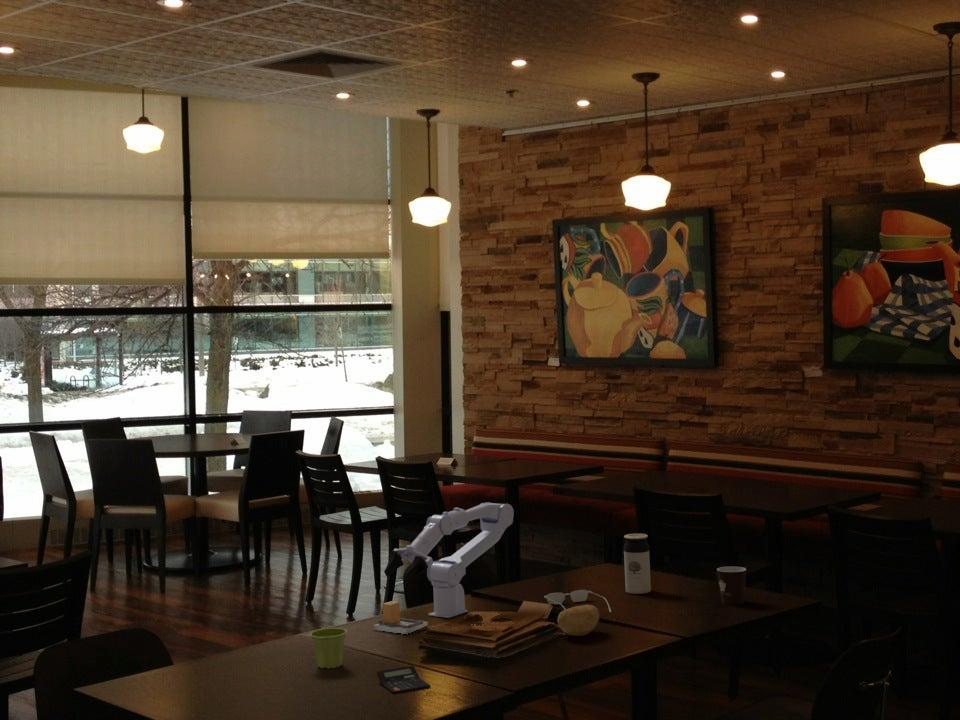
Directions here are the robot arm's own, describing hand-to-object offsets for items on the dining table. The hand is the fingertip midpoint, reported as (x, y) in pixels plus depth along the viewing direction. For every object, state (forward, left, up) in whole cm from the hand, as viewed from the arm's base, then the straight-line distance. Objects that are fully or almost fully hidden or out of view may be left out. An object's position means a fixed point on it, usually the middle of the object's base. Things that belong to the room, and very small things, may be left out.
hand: (395, 576), depth 340 cm
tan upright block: (0, -2, -13) cm, 13 cm away
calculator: (+43, +38, -15) cm, 60 cm away
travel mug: (-72, +39, -15) cm, 83 cm away
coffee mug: (-72, +71, -15) cm, 102 cm away
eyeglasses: (-44, +34, -16) cm, 58 cm away
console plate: (0, +1, -15) cm, 15 cm away
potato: (-17, +51, -15) cm, 56 cm away
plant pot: (+39, +10, -15) cm, 43 cm away
